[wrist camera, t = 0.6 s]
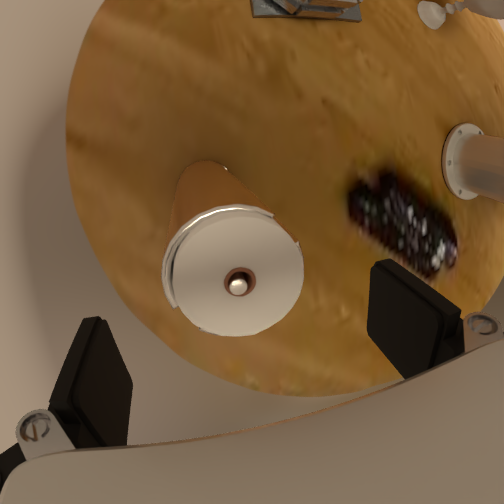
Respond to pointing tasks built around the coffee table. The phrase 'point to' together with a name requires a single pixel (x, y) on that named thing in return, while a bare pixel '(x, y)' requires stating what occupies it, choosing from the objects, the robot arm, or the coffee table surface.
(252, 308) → the silver metal cylinder
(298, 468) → the robot arm
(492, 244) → the coffee table surface
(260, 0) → the collar stand
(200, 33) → the coffee table surface
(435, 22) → the chalice
